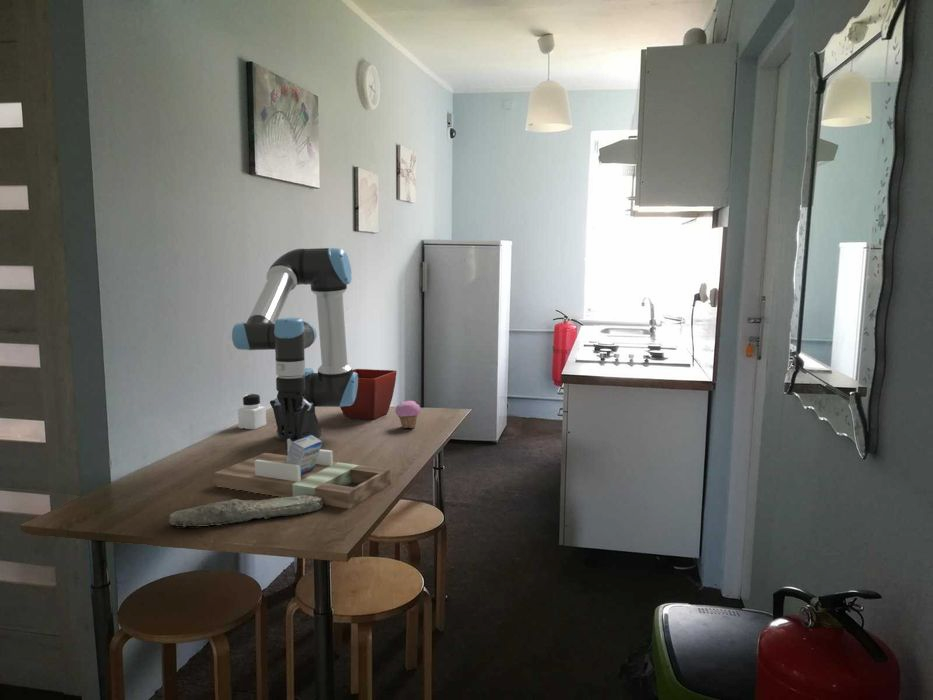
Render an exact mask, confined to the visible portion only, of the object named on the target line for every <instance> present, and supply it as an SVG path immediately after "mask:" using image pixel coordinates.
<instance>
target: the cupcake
mask: <svg viewBox="0 0 933 700" xmlns="http://www.w3.org/2000/svg"><path fill="white" fill-rule="evenodd" d="M395 407H396V408H395V414H396V416H397V417H398V418H399V420H400V425H401V427H402V428H403V429H404V428H405V429H408V428H409V429H414V428H415V427H416V425H417V418H418V415H420V413H421V406H420V404H419V403H416V401H415V400H404V401H401V402H400V403H399V404H397V405H396V406H395Z"/></svg>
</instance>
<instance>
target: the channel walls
mask: <svg viewBox="0 0 933 700" xmlns="http://www.w3.org/2000/svg"><path fill="white" fill-rule="evenodd" d="M333 462H334V454H333V450H331V449H330V450H329V449H321V448H320V451H319V455H318V458H317V462H316V464H320V465H328V466H332V465H333ZM255 475H257V476H263V477H270V478H277V479H283V480H290V481H296V482H299V481H301V470H300V465H294V464H287V463H279V462H272V461H265V460H255Z"/></svg>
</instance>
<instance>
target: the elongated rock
mask: <svg viewBox="0 0 933 700" xmlns="http://www.w3.org/2000/svg"><path fill="white" fill-rule="evenodd" d="M323 507H324V505H323V499H322V498H321V497H319V496H308V495H301V496H294V497H281V498H280V497H274V498H267V499H266V498H264V499H260V500H258V499H257V500H255V499H254V500H253V499H249V500H248V499H247V500H246V499H245V500H242V499H239V498H233V499H228V500H223V501H216V502H209V503H207V504H204V505H198V506H193V507H190V508H186V509H182V510H181V509H180V510H176V511H174V512H172V513H171V514H170V515H169V520H168V523H170V525H172V526H174V525H176V526H183V527H182V528H187V527H186V526H199V525H211V524H213V525H217V524H227V523H230V524H235V523H236V522H239V523H243V522H244V521H245V522H248V521H250V520H252V519H262V518H264V519H266V520H267V519H271V518H274V517H280V516H281V517H284V516H285V517H287V516H295V515H296V516H298V515H297V514H300V515H303V514H302V513H304V514H306V513H311V512H316V511H319V509H320V510H321V509H322V508H323ZM227 525H228V524H227ZM176 526H175V527H176Z"/></svg>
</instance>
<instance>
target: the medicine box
mask: <svg viewBox="0 0 933 700" xmlns="http://www.w3.org/2000/svg"><path fill="white" fill-rule="evenodd" d="M322 445H323V441H322V440H320V439H319V437H318V438H316V437H314V436H312V435H309V436H306V437H304V438H301V439H298V440H296V441H293V442H291V446H290V450H289V453H288V452H287V456H288V457H287V460H286V463H287V464H294V465H300V470H301V474H303V473H305V472H307V471H309V470H311V469H313V468H315V465H316V462H317V458H318V455H319V451H320V449H321V448H322Z"/></svg>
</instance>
